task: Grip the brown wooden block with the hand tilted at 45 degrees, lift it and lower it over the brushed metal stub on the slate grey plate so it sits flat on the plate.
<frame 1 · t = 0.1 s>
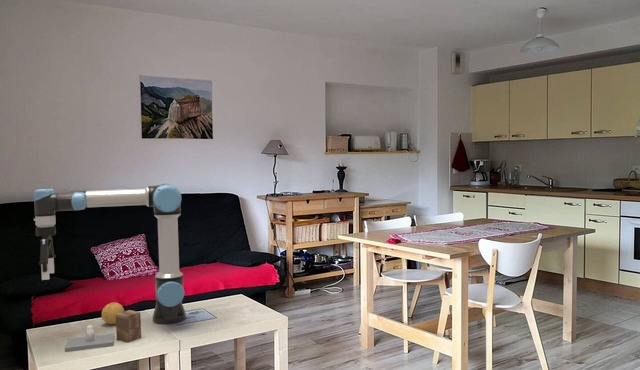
hand: (48, 276, 224), 28 cm above the table, fingers open, 13 cm apart
brown wooden block: (129, 338, 228), on the table
stress ball: (113, 324, 249), on the table
stub plate: (90, 344, 222), on the table
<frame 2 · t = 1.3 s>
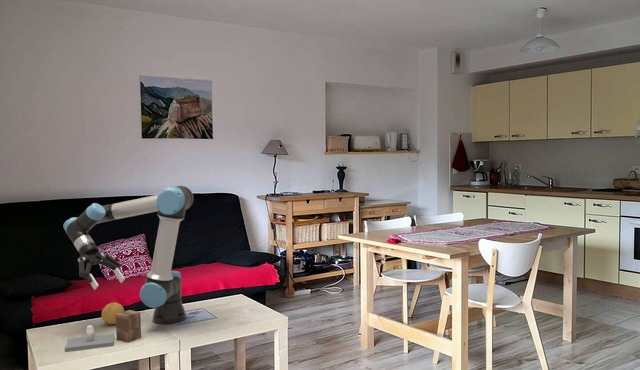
hand: (110, 284, 232), 22 cm above the table, fingers open, 13 cm apart
nothing on the table moved.
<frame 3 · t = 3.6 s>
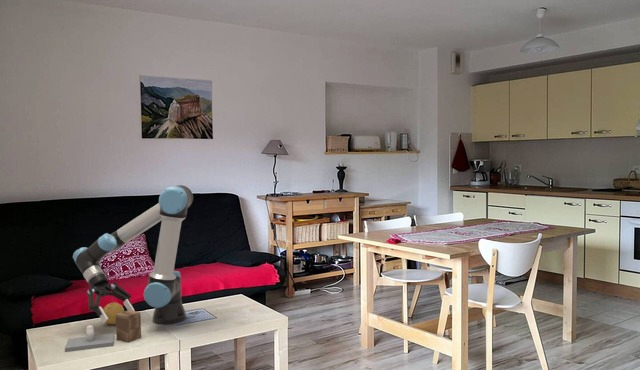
hand: (119, 316, 229), 9 cm above the table, fingers open, 13 cm apart
nothing on the table moved.
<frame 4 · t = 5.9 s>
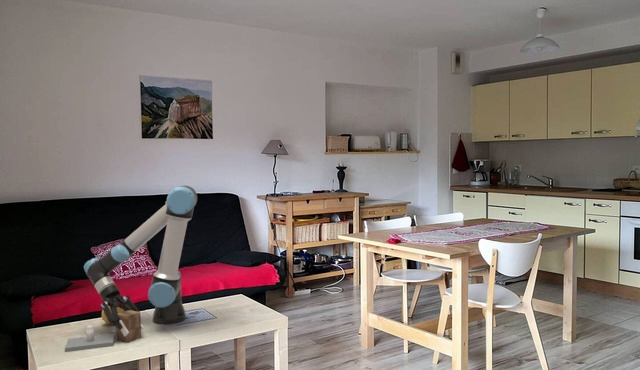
hand: (134, 331, 226), 4 cm above the table, fingers closed on brown wooden block, 7 cm apart
brown wooden block: (129, 338, 228), on the table, touching gripper
everything else where it was.
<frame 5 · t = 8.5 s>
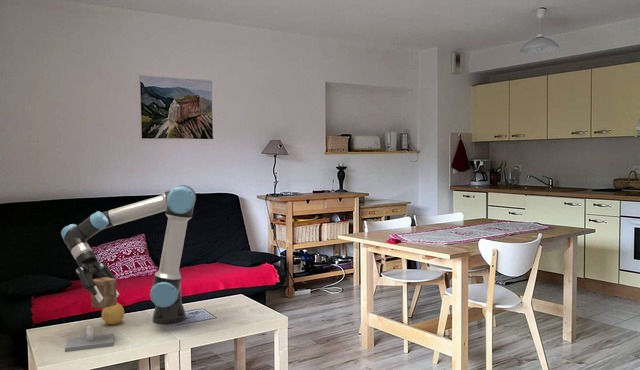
hand: (109, 298, 222), 19 cm above the table, fingers closed on brown wooden block, 7 cm apart
brown wooden block: (103, 305, 224), point 15 cm above the table, touching gripper
everything else where it was.
when the fingers open (6 cm above the table, at t = 11.4 s): brown wooden block drops 1 cm, resting on stub plate.
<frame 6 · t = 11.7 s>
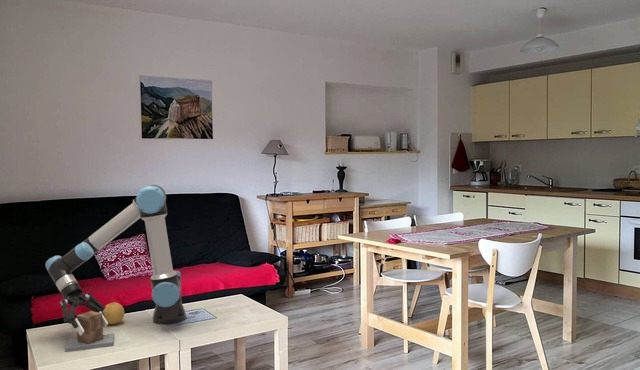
hand: (94, 329, 220), 7 cm above the table, fingers open, 10 cm apart
brown wooden block: (90, 340, 222), point 1 cm above the table, touching stub plate
everything else where it was.
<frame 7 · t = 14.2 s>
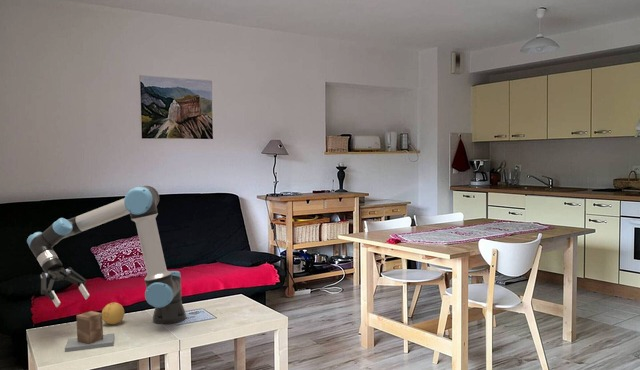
hand: (73, 301, 226), 17 cm above the table, fingers open, 13 cm apart
nothing on the table moved.
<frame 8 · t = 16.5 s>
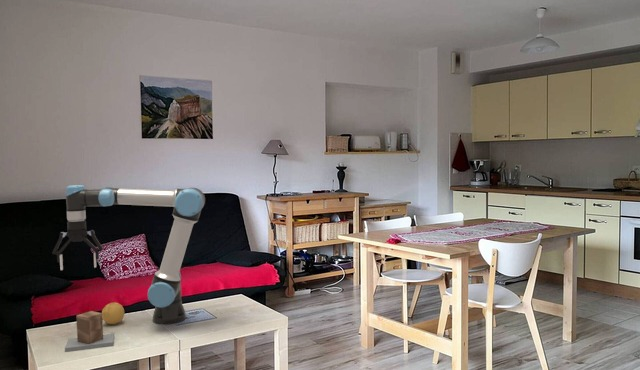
hand: (78, 268, 236), 29 cm above the table, fingers open, 13 cm apart
nothing on the table moved.
at the end: brown wooden block 0.0 cm off-centre on the stub plate, point 1.5 cm above the stub plate's base; brown wooden block tilted 0°; the gripper is holding nothing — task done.
